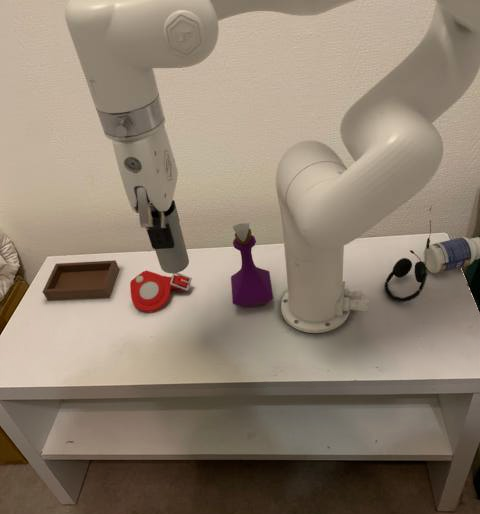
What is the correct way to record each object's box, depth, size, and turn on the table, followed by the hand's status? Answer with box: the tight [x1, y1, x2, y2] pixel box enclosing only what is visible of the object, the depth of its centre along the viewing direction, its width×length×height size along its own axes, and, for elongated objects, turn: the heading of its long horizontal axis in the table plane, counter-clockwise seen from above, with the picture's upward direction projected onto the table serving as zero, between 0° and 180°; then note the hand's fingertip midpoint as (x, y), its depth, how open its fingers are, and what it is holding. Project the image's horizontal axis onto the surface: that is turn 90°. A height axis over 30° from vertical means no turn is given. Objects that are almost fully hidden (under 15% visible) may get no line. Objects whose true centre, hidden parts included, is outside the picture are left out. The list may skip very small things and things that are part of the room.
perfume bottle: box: [230, 222, 274, 309], centre depth 86 cm, size 8×8×18 cm
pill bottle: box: [423, 236, 480, 274], centre depth 89 cm, size 5×5×10 cm
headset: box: [384, 205, 432, 303], centre depth 86 cm, size 7×7×20 cm
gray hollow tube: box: [150, 202, 190, 274], centre depth 71 cm, size 4×4×10 cm
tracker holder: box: [129, 270, 193, 313], centre depth 96 cm, size 12×4×10 cm
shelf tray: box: [42, 259, 120, 301], centre depth 101 cm, size 14×9×3 cm, turn 86°
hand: (166, 234), depth 71 cm, fingers closed on gray hollow tube, 4 cm apart
